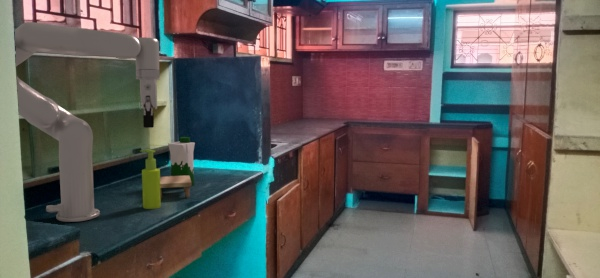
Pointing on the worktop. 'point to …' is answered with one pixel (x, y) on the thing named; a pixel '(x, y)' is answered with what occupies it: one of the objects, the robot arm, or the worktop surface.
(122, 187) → the worktop surface
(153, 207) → the soap dispenser
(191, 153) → the milk carton
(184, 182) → the stool
